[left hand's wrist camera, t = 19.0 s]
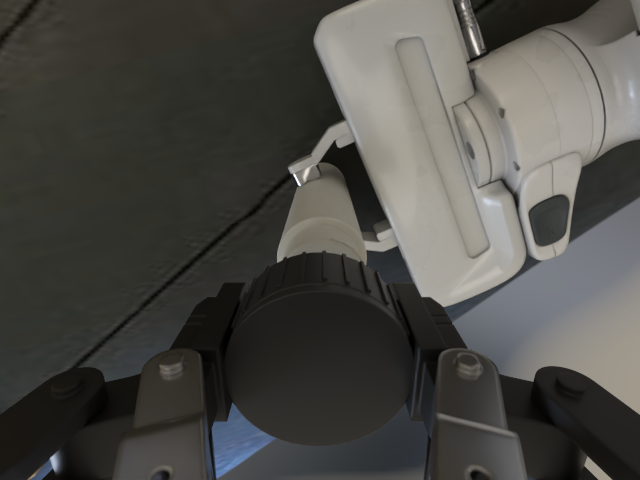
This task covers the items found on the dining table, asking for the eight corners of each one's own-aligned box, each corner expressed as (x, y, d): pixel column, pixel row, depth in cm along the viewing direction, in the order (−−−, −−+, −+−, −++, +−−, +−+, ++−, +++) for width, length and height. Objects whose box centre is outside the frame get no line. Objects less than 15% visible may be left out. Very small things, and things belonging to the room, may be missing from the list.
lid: (371, 225, 10) (386, 259, 8) (416, 361, 12) (439, 421, 10) (212, 279, 11) (184, 325, 9) (276, 401, 12) (266, 467, 10)
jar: (336, 214, 32) (352, 336, 15) (293, 200, 32) (259, 310, 15) (352, 171, 31) (388, 251, 14) (307, 156, 30) (287, 219, 13)
